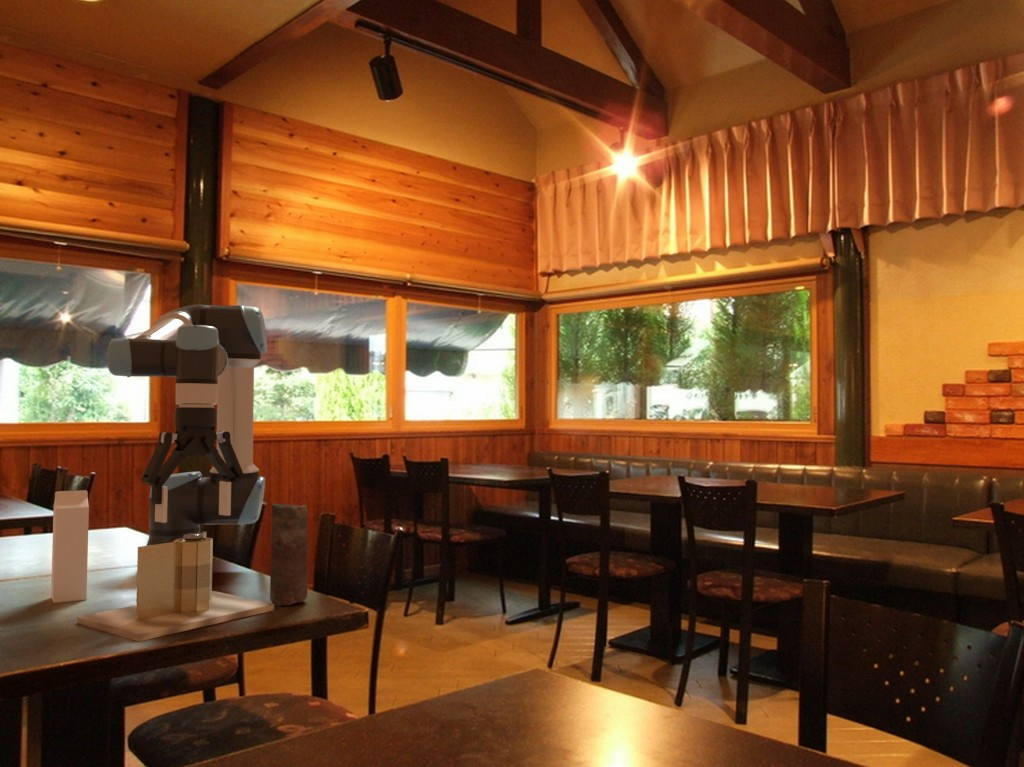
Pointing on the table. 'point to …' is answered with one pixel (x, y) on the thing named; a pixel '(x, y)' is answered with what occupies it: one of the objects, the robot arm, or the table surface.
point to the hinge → (174, 578)
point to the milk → (70, 546)
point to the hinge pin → (193, 537)
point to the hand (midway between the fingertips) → (193, 518)
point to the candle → (288, 554)
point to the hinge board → (173, 618)
